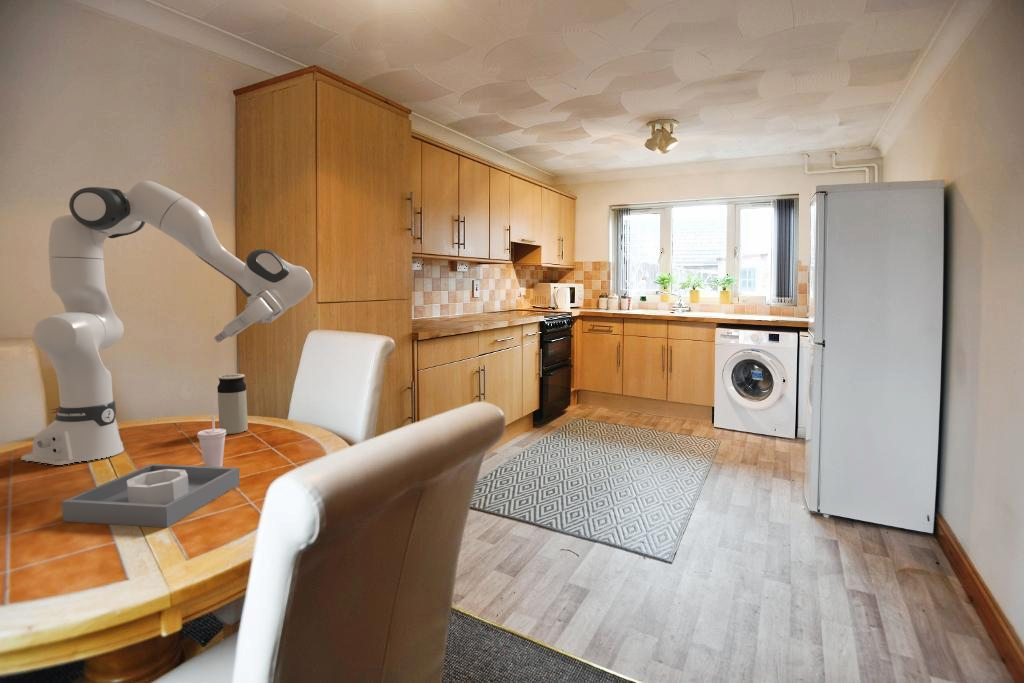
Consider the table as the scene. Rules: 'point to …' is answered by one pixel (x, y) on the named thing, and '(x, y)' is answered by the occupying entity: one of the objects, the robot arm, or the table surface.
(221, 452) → the smoothie
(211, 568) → the table surface
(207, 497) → the tray
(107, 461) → the table surface
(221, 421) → the travel mug
